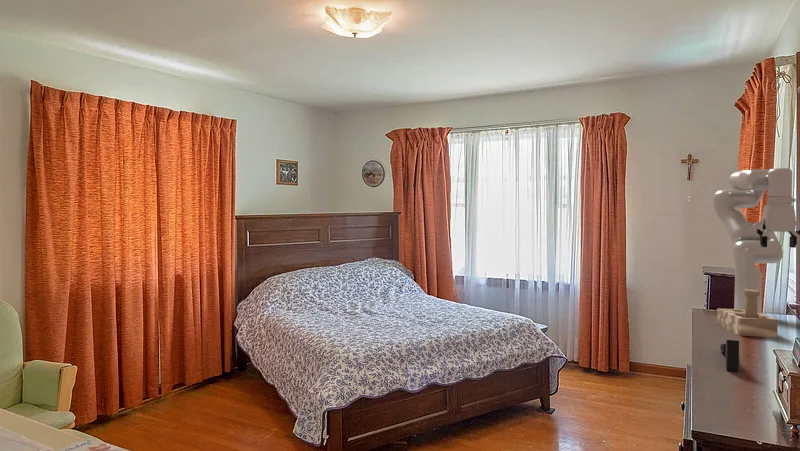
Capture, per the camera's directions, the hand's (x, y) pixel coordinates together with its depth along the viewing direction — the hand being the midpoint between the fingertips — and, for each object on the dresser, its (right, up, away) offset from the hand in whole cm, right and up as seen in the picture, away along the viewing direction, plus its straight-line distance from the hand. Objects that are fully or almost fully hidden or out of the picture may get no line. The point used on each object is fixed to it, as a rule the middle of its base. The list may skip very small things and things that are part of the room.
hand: (778, 247), depth 204 cm
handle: (-15, -30, -8) cm, 35 cm away
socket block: (-15, -30, -4) cm, 34 cm away
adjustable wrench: (-46, -32, -46) cm, 72 cm away
